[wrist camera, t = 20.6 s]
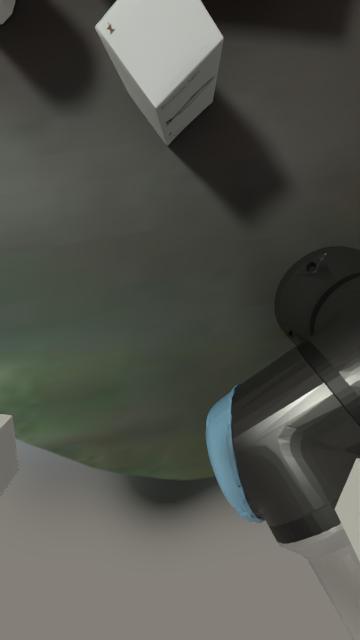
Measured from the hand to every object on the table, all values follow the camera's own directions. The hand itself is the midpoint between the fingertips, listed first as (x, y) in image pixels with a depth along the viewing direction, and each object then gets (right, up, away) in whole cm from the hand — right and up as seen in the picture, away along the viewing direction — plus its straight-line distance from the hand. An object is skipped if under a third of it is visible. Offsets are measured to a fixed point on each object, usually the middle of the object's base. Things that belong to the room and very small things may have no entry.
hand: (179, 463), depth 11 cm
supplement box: (-1, +32, +23) cm, 39 cm away
